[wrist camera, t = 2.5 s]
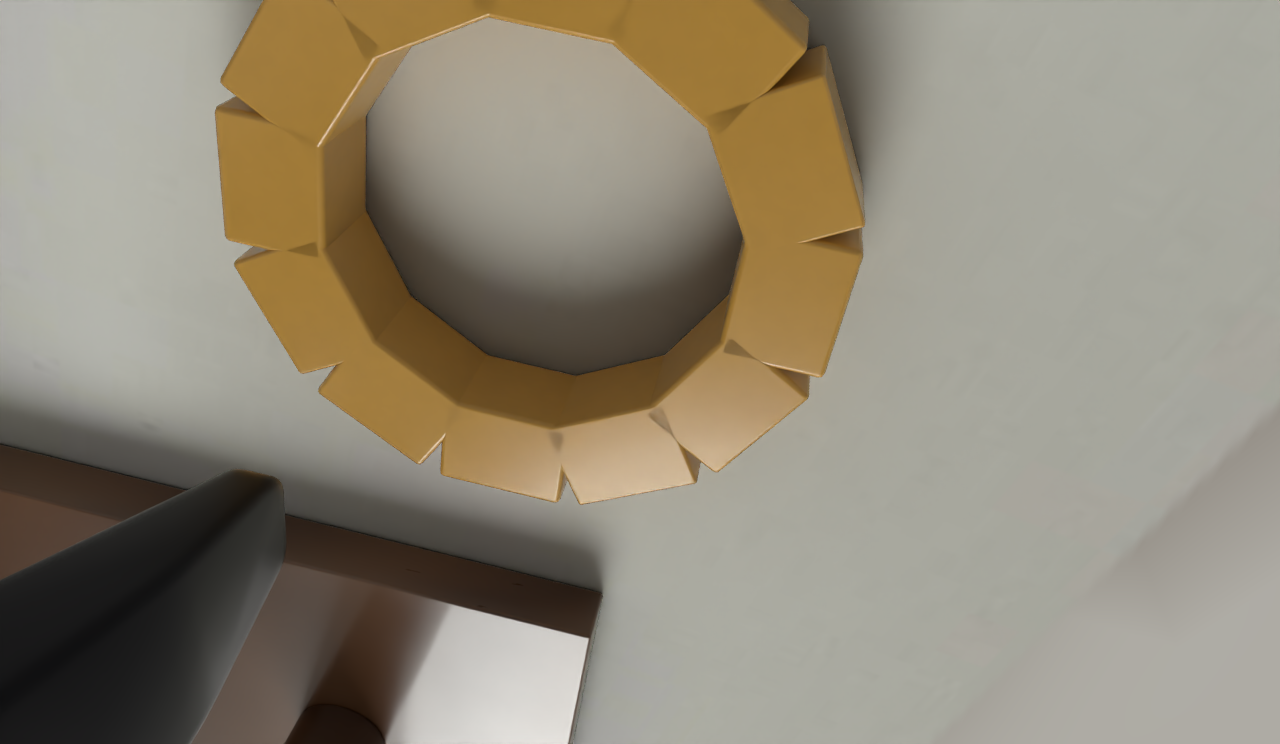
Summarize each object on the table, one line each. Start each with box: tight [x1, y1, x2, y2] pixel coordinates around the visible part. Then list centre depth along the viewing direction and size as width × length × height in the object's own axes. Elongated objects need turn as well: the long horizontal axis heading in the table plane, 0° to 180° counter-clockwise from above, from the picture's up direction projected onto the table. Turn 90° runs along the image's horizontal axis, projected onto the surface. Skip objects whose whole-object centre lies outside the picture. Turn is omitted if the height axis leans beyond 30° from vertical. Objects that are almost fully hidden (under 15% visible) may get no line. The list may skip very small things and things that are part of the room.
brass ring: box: [215, 0, 865, 505], centre depth 14 cm, size 9×9×2 cm
